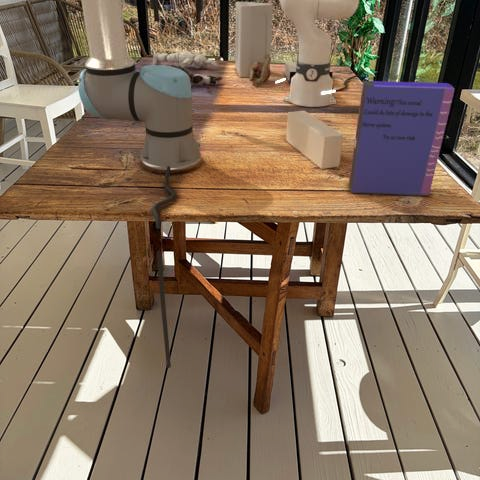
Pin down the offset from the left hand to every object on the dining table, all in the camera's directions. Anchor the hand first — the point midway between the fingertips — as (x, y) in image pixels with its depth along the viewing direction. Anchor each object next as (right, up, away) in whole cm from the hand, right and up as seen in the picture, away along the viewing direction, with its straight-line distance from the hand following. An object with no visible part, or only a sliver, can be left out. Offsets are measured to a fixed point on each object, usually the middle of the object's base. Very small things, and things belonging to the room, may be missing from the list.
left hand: (177, 21), depth 151 cm
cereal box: (+54, -58, -41) cm, 89 cm away
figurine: (-3, -5, +45) cm, 45 cm away
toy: (-5, +12, +73) cm, 74 cm away
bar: (+39, -45, -20) cm, 63 cm away
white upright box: (+26, +7, +66) cm, 72 cm away
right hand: (+40, +4, -24) cm, 47 cm away
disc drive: (+49, +1, +57) cm, 75 cm away
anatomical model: (+28, -4, +48) cm, 56 cm away
